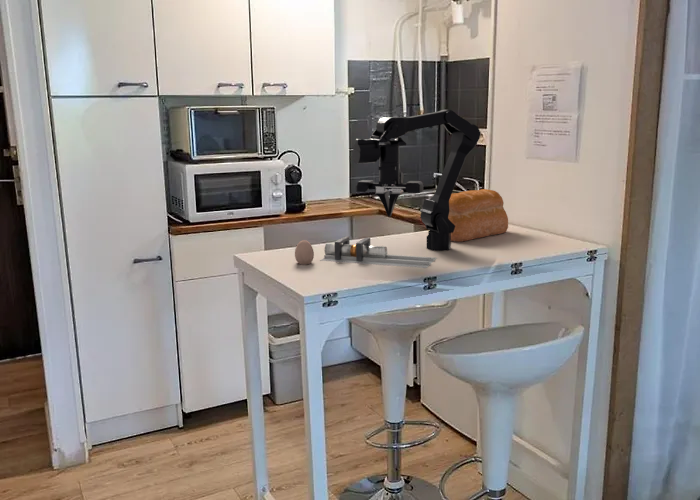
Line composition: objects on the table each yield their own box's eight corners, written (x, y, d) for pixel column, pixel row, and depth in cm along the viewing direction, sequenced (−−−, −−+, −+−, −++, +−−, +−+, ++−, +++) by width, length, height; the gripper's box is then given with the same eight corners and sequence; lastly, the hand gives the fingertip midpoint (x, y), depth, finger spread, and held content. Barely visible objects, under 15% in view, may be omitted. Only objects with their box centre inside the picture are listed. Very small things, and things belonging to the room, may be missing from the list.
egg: (300, 269, 182) (299, 243, 180) (292, 265, 186) (290, 239, 185) (317, 266, 185) (316, 240, 183) (308, 262, 189) (307, 237, 187)
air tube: (386, 260, 189) (387, 247, 189) (383, 258, 185) (384, 245, 186) (328, 256, 195) (329, 244, 196) (323, 254, 192) (325, 242, 192)
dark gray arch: (370, 255, 193) (370, 237, 192) (361, 261, 186) (361, 243, 184) (365, 254, 193) (365, 237, 192) (356, 261, 186) (356, 243, 185)
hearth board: (436, 260, 188) (436, 255, 188) (426, 270, 177) (426, 264, 177) (335, 253, 199) (335, 248, 199) (320, 263, 188) (320, 257, 188)
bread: (429, 238, 220) (430, 192, 216) (482, 227, 235) (483, 185, 232) (459, 244, 209) (460, 196, 206) (512, 233, 225) (514, 188, 222)
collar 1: (349, 253, 195) (349, 236, 194) (339, 260, 188) (339, 242, 187) (345, 253, 196) (344, 236, 194) (334, 259, 188) (334, 241, 187)
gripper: (427, 159, 193) (426, 212, 196) (365, 159, 198) (366, 210, 202) (419, 163, 182) (419, 219, 186) (354, 162, 188) (355, 216, 191)
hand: (389, 216), depth 191 cm, fingers closed
